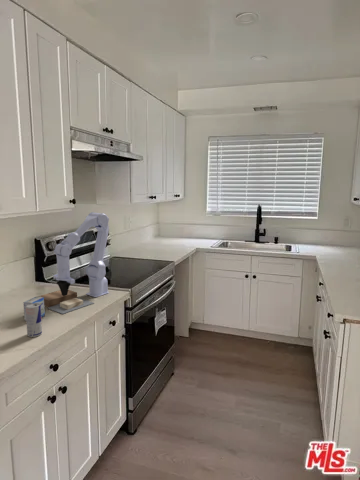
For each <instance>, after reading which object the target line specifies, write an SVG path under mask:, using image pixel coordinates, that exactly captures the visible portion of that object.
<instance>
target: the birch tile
mask: <svg viewBox="0 0 360 480" xmlns="http://www.w3.org/2000/svg"><path fill="white" fill-rule="evenodd" d="M78 298H79V297H77V298H73V299H70V300H67V301H64V302H60V307H62V308H65V309H71V308H74V307H77V306H80V305H83V300H81V299H82V298H81V299H78Z"/></svg>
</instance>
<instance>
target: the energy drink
mask: <svg viewBox="0 0 360 480" xmlns="http://www.w3.org/2000/svg"><path fill="white" fill-rule="evenodd" d="M25 322H26V335H27V336H28V337H29V338H37V337H39V336H41V335H42V334H43V325H42V317H41V306H40V304H38V303H32V304H28V305H27V306H26V321H25Z"/></svg>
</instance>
